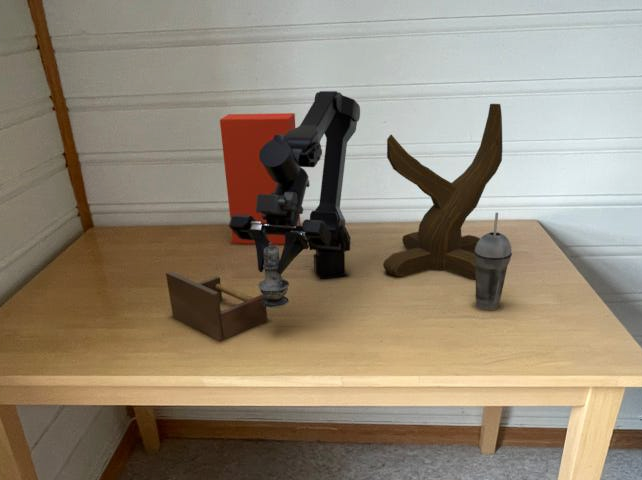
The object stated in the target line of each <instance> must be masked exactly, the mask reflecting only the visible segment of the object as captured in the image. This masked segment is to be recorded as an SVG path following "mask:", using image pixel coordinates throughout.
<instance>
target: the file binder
mask: <svg viewBox="0 0 642 480" xmlns="http://www.w3.org/2000/svg"><path fill="white" fill-rule="evenodd" d="M219 126H220V127H219V128H220V136H221V144H222V155H223V163H224V164H223V165H224V172H225V173H224V175H225V182H226V192H227V201H228V210H229V211H228V212H229V220H231V218H232V216H234V215H235V214H239V215H252V217H253V218H254V219H255V221H256V222H262V223H266V222H267V221H266V220H264V219H263V218H262V217H261V216H262V213H260V212H258V213H257V212H256V203H257V194H265V195H270V194H271V193H274V191H275V187H276V183H277V182H275V181H273V180H272V178H271V177H270V175H269V174H268V172H267V171H266V169H265V167H264V166H263V164H262V163H261V161H260V157H259V154H260V150H261V149H262V148H263V146H264V145H265V144H266V143H268V142H269V141H271V140H274V136H275V134H278V135H286V134H287V133H288V132H289V131H290V130H292V129H295V128H296V114H295V113H294V112H288V113H285V112H284V113H281V112H279V113H228V114H226V115H224V116H223V117H222V118H220V119H219ZM297 226H301V214H300V215H299V219H298V223H297ZM231 239H232V244H233V245H236V244H237V245H255V242H254V241H252V240H242V239H240V238H238V237H237V235H236V234H235V233H234V232H233V231H232V230H231ZM267 239H268V240H269V241H270V242H272V245H273V246H275V245H276V246H277V245H280V246H281V245H282V246H284V245H285V235H274V234H269V235H268V238H267Z"/></svg>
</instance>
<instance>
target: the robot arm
mask: <svg viewBox="0 0 642 480" xmlns="http://www.w3.org/2000/svg"><path fill="white" fill-rule="evenodd" d="M360 118H361V105H360V104H359V103H358V101H356V100H355V99H354V98H352V97H349V96H346V95H343V94H342V93H341V92H338V91H337V90H320V91H318V92H316V93H315V95H314V101H313V103H312V105H311V106H310V108H309V109H308V111H307V113H306V115H305V116H304V118H303V119H302V121H301V123H300V124H299V125H298V126H297V127H295V129H292V130H290V131H289V132H288V133H287V134H286V135H278V134H275V136H274V140H271V141H269V142H268V143H266V144H265V145H264V146H263V148H262V149H261V150H260V154H259V157H260V161H261V163H262V164H263V166H264V167H265V169H266V171H267V172H268V174H269V175H270V177H271V178H272V180H273V181H275V182H277V183H276V187H275V191H274V193H271V194H270V195H265V194H257V203H256V212H257V213H258V212H260V213H262V216H261V217H262V218H263V219H264V220H266V221H267V222H266V223H262V222H256V221H255V219H254V218H253V217H252V215H239V214H235V215H234V216H232V218H231V220H230V219H229V220H230V221H229V224H228V227H229V229H230V230H231V232H232V231H233V232H234V233H235V234H236V235H237V237H238V238H240V239H242V240H252V241H254V242H255V244H254V245H255V249H256V259H257V269H258V272H259V273H263V271H264V270H265V269H264V268H263V265H264V249H265V248H266V247H268V246H270V245H269V243H270V241H269V240H268V239H267V238H268V235H269V234H274V235H285V245H283V249H282V252H281V256H280V262H279V266H278V273H279V274H281V275H282V274H283V273H284V272H285V270H286V269H287V268H288V267H289V265H290V264H291V263H292V262H293V261H294V260H295V258H297V256H299V255H300V254H301V253H302V252H303V250H308V249H309V250H311V251H314V252H315V253H314V254H313V255H312V256H313V271H314V272H315V274H316V275H317V276H318V277H319V279H321V280H326V279H333V278H342V277H347V276H348V272H346V268H345V267H346V263H345V261H346V259H345V253H346V252H348V251H350V250H351V235H350V234H349V231H348V230H347V227H346V218H345V217H344V215H343V212H342V210H341V200H342V191H343V182H344V173H345V167H346V166H345V165H346V156H347V147H348V142H349V141H350V140H351V138H352V137H353V135H354V134H355V133H356V131H357V125H358V122H359V121H360ZM324 136H325V138H326V139H325V140H326V141H325V148H324V149H325V150H324V159H323V167H322V176H321V186H320V194H319V195H320V196H319V204H318V206H317V207H316V208H315V210H311V212H310V214H309V219H304V220H303V221H302V225H300V226H297V223H298V219H299V215H300V216H301V215H303V213H304V208H303V204H304V203H303V202H304V199H305V194H306V190H307V188H309V187H310V185H311V184H310V180H309V178H310V177H309V175H308V173H307V171H306V170H305V169H304V168H315V167H316V166H317V165H318V163H319V161H320V160H321V158H322V157H321V156H322V155H323V148H322V144H321V141H322V138H323V137H324Z"/></svg>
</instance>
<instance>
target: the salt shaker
mask: <svg viewBox="0 0 642 480" xmlns="http://www.w3.org/2000/svg"><path fill="white" fill-rule="evenodd" d="M269 245H270V246H268V247H266V248H265V249H264V265H263V268H264V269H263V270H264V280H262V281H260V282H259V283H258V285H257V287H258V289H259V291H260V293H261V295H263V296H264V297H265V298H264V299H263V300H262V301H261V304H262V305H263V306H265V307H266V308H272V309H273V308H281V307H284V306H286V305H287V304H289V302H290V300H289V298H288V297H287V296H285V295H286V294H287V293H288V289H289V286H290V282H289V281H288V280H287V279H284V278H283V277H282V274H279V273H278V266H279V262H280V259H281V257H280V249H279V247H277V246H275V245H274V244H272V242H270V243H269Z"/></svg>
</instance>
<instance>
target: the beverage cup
mask: <svg viewBox="0 0 642 480" xmlns="http://www.w3.org/2000/svg"><path fill="white" fill-rule="evenodd" d="M498 219H499V212H498V211H497V212H495V213H494V225H493V231H491V232H488V233H486V234H483V236H481V237H479V238H480V240H479V241H478V243H477V245H476V248H475V251H474V254H475V263H476V279H475V306H476V308H477V309H480V310H482V311H494V310H497V309H498V308H499V305H500V302H501V298H502V294H503V288H504V285H505V280H506V275H507V270H508V267H509V264H510V261H511V258H512V256H513V252H512V245H511V242H510V239H509V238H508V237H507V236H506V235H505V234H503V233H501V232H498V231H497V229H498V221H499V220H498Z"/></svg>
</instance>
